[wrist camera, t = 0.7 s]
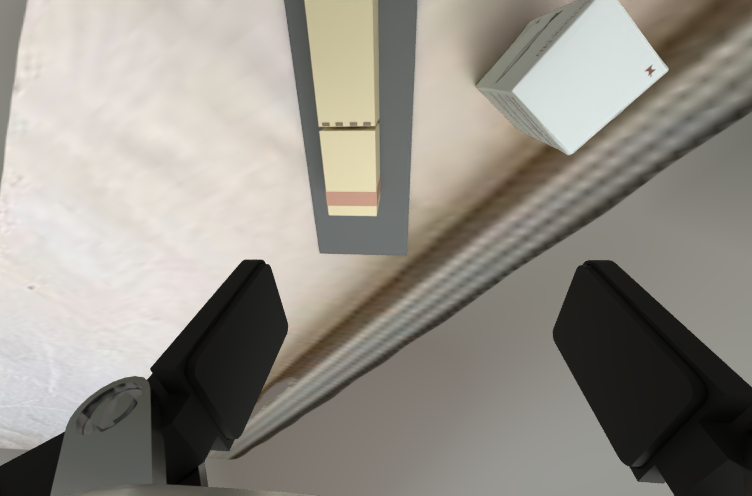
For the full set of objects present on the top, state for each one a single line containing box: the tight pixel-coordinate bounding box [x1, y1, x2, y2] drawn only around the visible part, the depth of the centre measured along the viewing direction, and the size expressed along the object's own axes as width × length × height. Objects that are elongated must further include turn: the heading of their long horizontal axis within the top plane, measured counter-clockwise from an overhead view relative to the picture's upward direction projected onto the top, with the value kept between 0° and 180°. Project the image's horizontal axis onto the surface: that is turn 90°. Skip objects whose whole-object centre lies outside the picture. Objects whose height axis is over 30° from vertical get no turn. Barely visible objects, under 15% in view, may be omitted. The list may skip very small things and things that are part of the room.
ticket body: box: [304, 0, 380, 127], centre depth 27 cm, size 14×6×6 cm, turn 1°
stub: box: [319, 123, 381, 216], centre depth 33 cm, size 9×6×6 cm, turn 1°
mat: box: [284, 0, 417, 256], centre depth 34 cm, size 33×13×1 cm, turn 1°
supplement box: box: [476, 0, 669, 155], centre depth 25 cm, size 7×7×13 cm
